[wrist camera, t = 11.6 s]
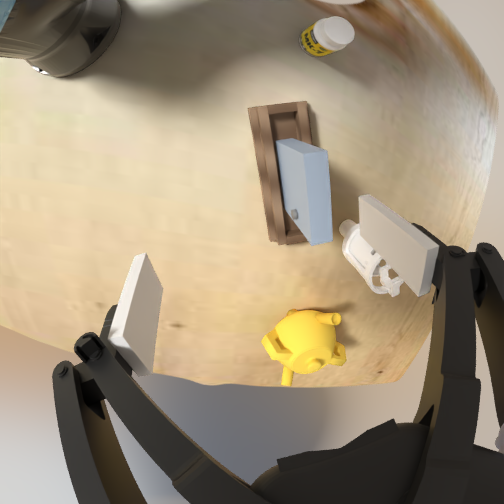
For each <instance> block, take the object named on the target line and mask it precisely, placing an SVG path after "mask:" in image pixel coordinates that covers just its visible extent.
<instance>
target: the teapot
mask: <svg viewBox="0 0 504 504" xmlns="http://www.w3.org/2000/svg"><path fill="white" fill-rule="evenodd" d="M340 322H341V315H340V314H339V313H322V312H319V311H314V310H302V311H297V310H296V309H292V310H290V311H288V313H287V316H286V317H285V318H283V319H282V320H281V321H280V322H279V323H278V324H277V325H276V327H275V328H274V330H272V331H271V332H269V333H268V334H266V335H265V336H264V338H263V339H262V341H261V342H262V344H263V346H264V347H265V349H266V351H267V352H268V354H269V355H270V357H271V359H272V360H278V361H279V362H280V363H282V364H283V365H284V368H283V375H282V382H281V385H288V386H291V385H292V379H293V373H294V372H296V373H300V374H308V373H313V372H316V371H318V370H320V369H322V368H323V367H324V366H326V365H327V364H332V365H338V366H342V365H343V364H344V363H345V362H346V354H345V347H344V345H342V344H340V343H339V342H337V341H336V332H335V327H334V325H338V324H340ZM333 353H334V354H335V355H334V354H333Z"/></svg>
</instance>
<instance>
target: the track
mask: <svg viewBox="0 0 504 504" xmlns="http://www.w3.org/2000/svg"><path fill="white" fill-rule="evenodd" d="M248 112H249V118H250V124H251V129H252V135H253V141H254V147H255V153H256V159H257V165H258V171H259V177H260V183H261V189H262V195H263V202H264V208H265V214H266V221H267V227H268V234H269V239H270V242H272V241H277V243H278V245H283V244H287V245H289V244H293V243H298V242H303V241H307V239H306V237H305V236H304V235H303V233H302V232H301V230H300V229H299V228H298V226H297V225H296V224H295V222H294V221H293V220H292V218H291V217H290V216H289V214H288V213H287V211H286V210H285V209H284V204H283V196H282V189H281V181H280V174H279V167H278V160H277V153H276V146H275V141H276V140H283V139H290V138H293V139H296V140H299V141H302V142H305V143H308V144H310V145H312V136H311V128H310V120H309V113H308V106H307V101H303V102H292V103H282V104H274V105H266V106H259V107H252V108H248Z"/></svg>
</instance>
